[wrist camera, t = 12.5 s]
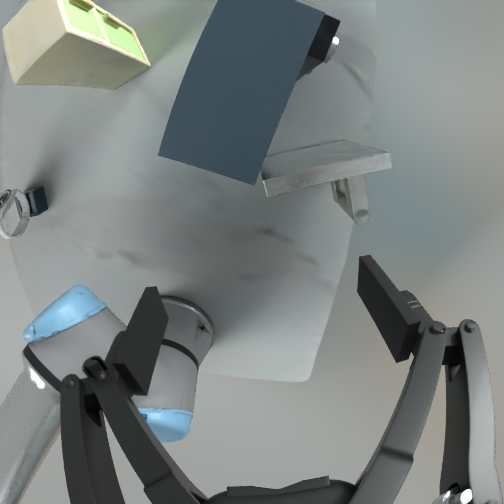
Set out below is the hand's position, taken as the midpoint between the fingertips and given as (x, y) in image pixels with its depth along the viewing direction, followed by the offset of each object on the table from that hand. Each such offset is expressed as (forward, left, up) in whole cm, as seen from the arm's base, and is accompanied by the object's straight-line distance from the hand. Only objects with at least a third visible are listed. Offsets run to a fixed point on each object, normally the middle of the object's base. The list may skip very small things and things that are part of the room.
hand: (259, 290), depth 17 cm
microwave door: (+5, -6, -23) cm, 25 cm away
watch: (-12, +37, -24) cm, 46 cm away
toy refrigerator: (+14, +24, -24) cm, 37 cm away
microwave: (+13, +5, -24) cm, 27 cm away
